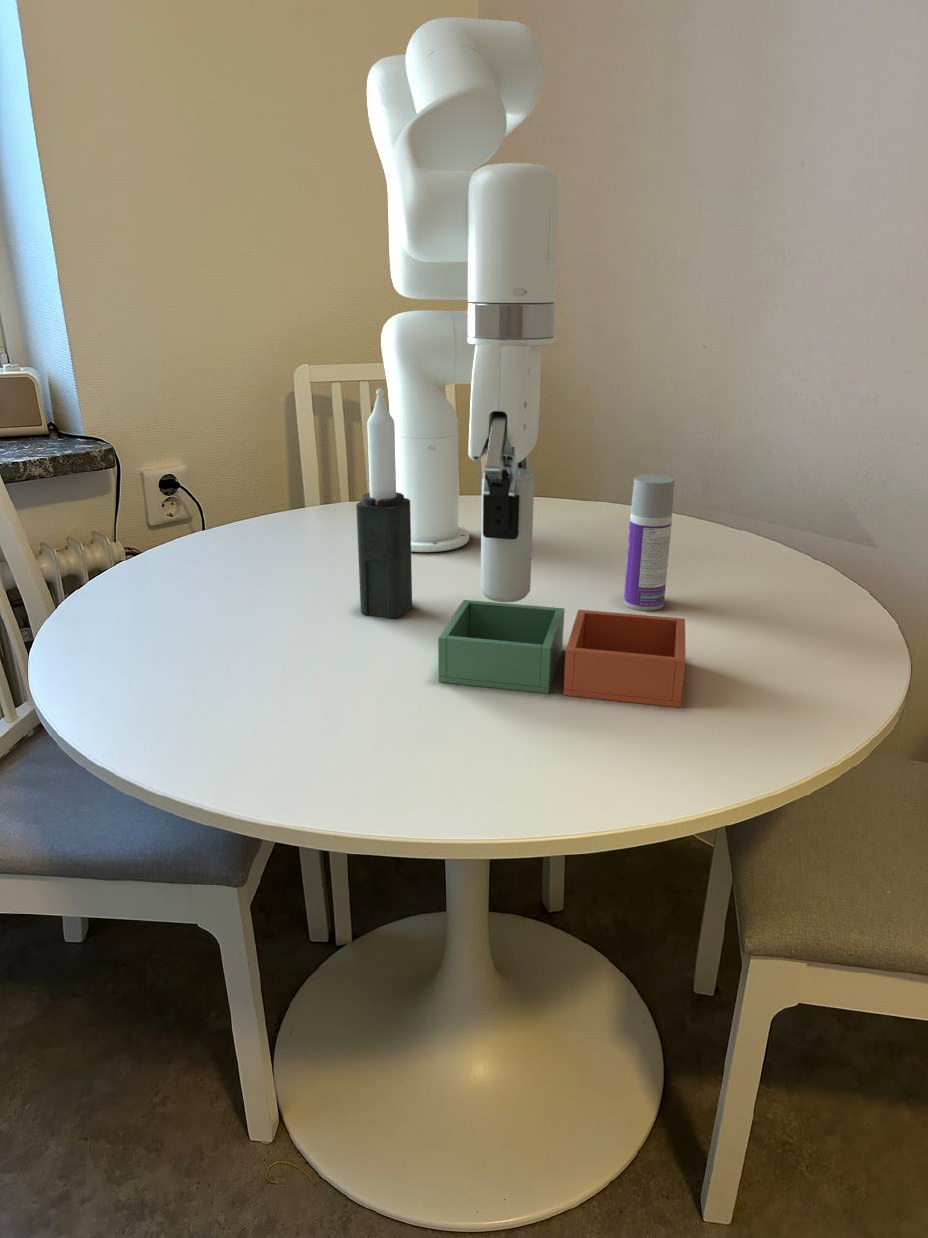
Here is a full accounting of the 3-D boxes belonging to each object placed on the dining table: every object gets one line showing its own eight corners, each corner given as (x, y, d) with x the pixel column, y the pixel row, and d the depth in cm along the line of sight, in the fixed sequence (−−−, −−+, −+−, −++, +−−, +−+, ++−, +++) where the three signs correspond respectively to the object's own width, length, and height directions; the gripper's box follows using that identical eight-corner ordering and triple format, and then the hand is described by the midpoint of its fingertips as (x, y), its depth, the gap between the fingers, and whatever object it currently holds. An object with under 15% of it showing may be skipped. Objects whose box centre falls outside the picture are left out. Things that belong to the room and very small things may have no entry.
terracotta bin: (563, 695, 81) (565, 650, 79) (575, 650, 91) (578, 609, 89) (680, 707, 79) (685, 661, 77) (680, 660, 88) (685, 618, 87)
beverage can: (530, 587, 87) (535, 467, 82) (529, 604, 82) (533, 478, 78) (482, 585, 87) (483, 466, 83) (478, 602, 82) (479, 477, 78)
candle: (415, 604, 103) (411, 386, 94) (398, 619, 98) (392, 392, 89) (375, 599, 104) (368, 384, 95) (357, 614, 100) (347, 390, 91)
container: (619, 597, 106) (628, 474, 100) (657, 596, 106) (668, 473, 100) (629, 611, 101) (639, 483, 96) (668, 610, 102) (681, 483, 96)
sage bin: (438, 682, 84) (437, 637, 82) (463, 639, 93) (463, 599, 91) (548, 693, 81) (550, 648, 80) (562, 649, 91) (564, 608, 89)
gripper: (488, 319, 84) (485, 505, 91) (444, 330, 68) (445, 552, 75) (566, 321, 82) (557, 509, 89) (539, 332, 67) (531, 559, 74)
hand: (506, 527), depth 82 cm, fingers closed on beverage can, 4 cm apart
